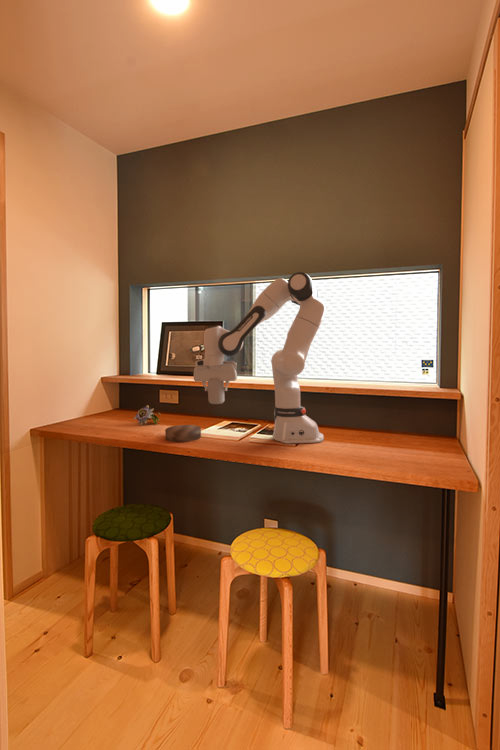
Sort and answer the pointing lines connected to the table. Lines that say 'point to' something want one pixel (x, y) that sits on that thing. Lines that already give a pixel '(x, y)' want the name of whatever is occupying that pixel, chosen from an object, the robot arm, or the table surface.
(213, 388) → the can
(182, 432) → the plinth
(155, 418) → the passion flower
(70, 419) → the table surface
